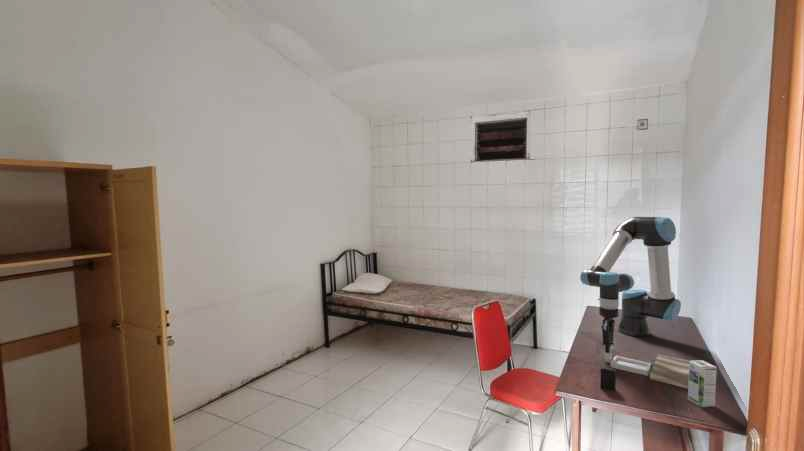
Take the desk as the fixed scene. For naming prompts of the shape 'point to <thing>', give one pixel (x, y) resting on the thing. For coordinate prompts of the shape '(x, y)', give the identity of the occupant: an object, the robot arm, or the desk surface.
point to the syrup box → (702, 383)
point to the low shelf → (670, 370)
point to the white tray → (631, 365)
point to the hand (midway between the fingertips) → (607, 358)
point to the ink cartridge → (608, 378)
